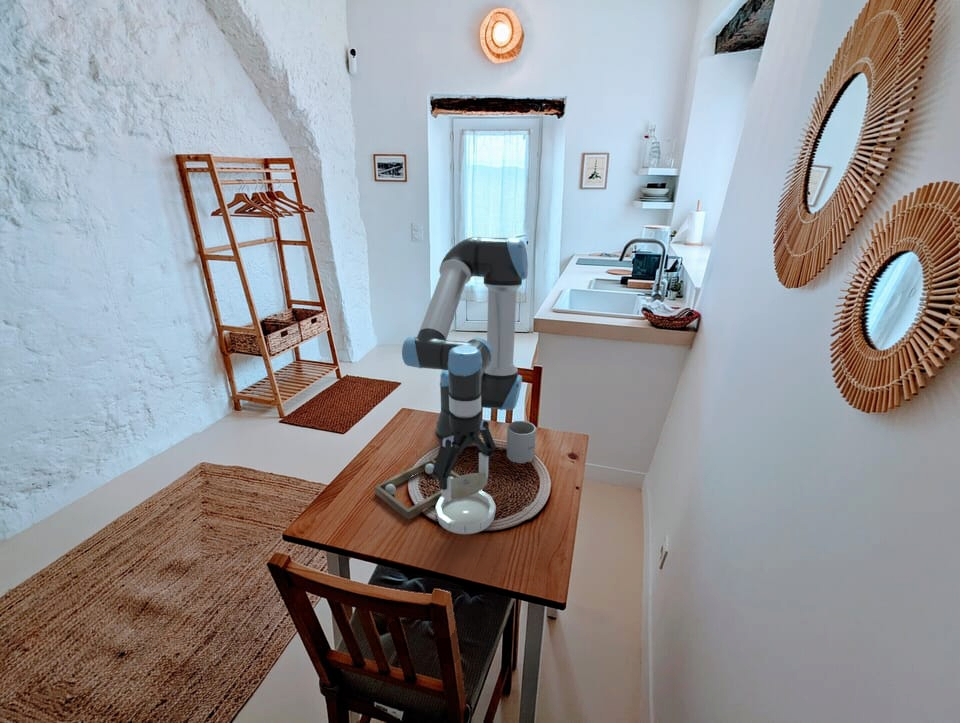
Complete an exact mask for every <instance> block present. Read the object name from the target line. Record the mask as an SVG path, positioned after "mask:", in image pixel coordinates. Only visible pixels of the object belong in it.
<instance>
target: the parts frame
mask: <svg viewBox="0 0 960 723" xmlns="http://www.w3.org/2000/svg"><path fill="white" fill-rule="evenodd" d="M435 462H436V460H435V459H433V457H430V458H427V459H425V460H424V461H422V462H420V463H418V464H416V465H414V466H412V467H410V468H408V469H406V470H404V471H403V472H400V473H398V474H396V475H394V476H393V477H390V478H389V479H386V480H385V481H382V482H380V483H379V484H377V485H374V495H375V496H377V497H378V498H380V500H382V501H383V502H385V503H386V504H387V505H388V506H390V507H391V509H393V510H395V511H396V512H398V513H399V514H400V515H401V516H402V517H404V518H405V519H406V520H407V521H410V520H412V519H413V518H416V517H417V516H419V515H420V514H422V513H423V512H424V511H423V510H424V509H426V508H428V507H430V508H432V507H433V506H436V504H437V502H438V500H439V498H440V497H441V496H442V492H441V489H440V490H439V491H437V492H435V493H433V494H432V495H430V496H428V497H426V498H425V499H423V500H422V501H419V502H418V503H416V504H415V505H413V506H410V507H409V508H408V507H407V506H406V505H405V504H403V503H402V502H400V501H399V499H397V498H396V497H394V496H393V495H390V494H389V493H388V492H386V491H385V487H386V486H387V485H388V484H393V485H394V486H395V487H396V486H398V485H400V484H402V483H404V482H406V481H408V480H410V479H411V478H410V477H411V476H412V475H415V474H417V473H420V472H421V473H423V472H425V466H426V465H427V464H433V465H435ZM422 471H423V472H422ZM421 473H420V474H421ZM444 473H445V472H444ZM450 476H451V477H454V478H455V477H458V476H461V475H460V474H458V473H456V472H455V471H453V469H452V470H451V472H450V474H449V477H450ZM409 478H410V479H409ZM431 506H432V507H431ZM428 509H429V508H428ZM422 511H423V512H422ZM421 512H422V513H421Z"/></svg>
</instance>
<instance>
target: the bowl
mask: <svg viewBox="0 0 960 723" xmlns="http://www.w3.org/2000/svg"><path fill="white" fill-rule="evenodd" d="M496 507H497V506H496V503H495V501H494V498H493V497H492V495H491V494H489V493H487V492H486V491H483V489H482V490H481V491H479V492H477V493H475V494H473V495H470V496H468V497H464V498H461V499H451V501H448V500H446V499H445V498H443V497H442V496H441V497H440V498H439V500H438V502H437V504H435V514H436V519H438V520H437V522H438V521H439V522H438V523H439V526H441V527H442V528H443V529H445V530H446V531H448V532H451V533H453V534H457V535H474V534H477V533H480V532H482V531H484V530H486V529H487V528H489V527H490V526H491V525H492V524H493V522H494V519H495V516H496V515H495V514H496V510H497V508H496Z"/></svg>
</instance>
